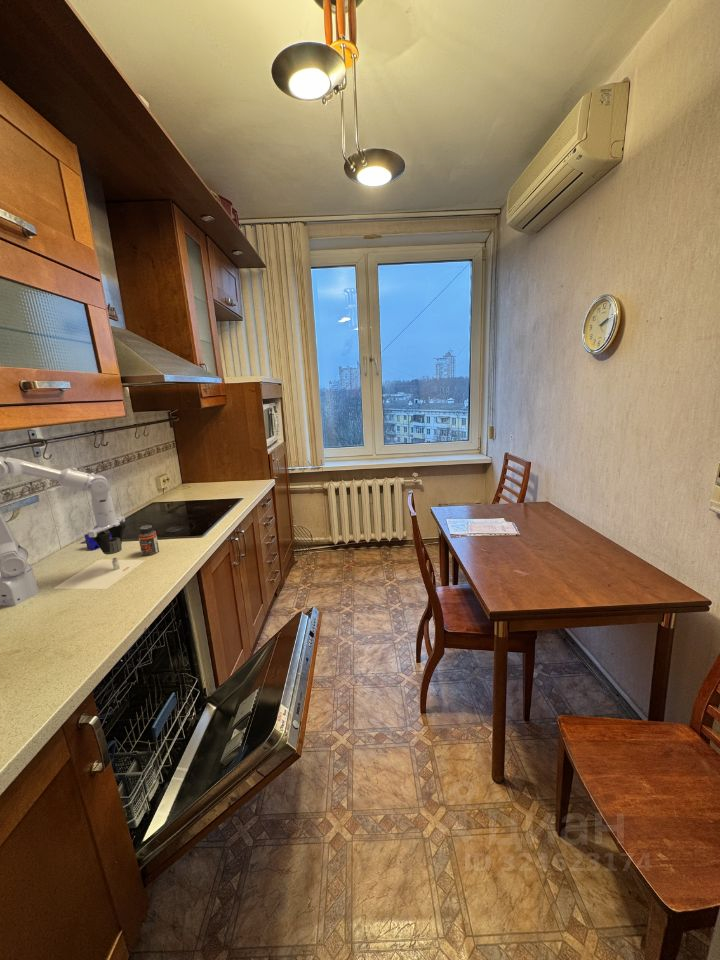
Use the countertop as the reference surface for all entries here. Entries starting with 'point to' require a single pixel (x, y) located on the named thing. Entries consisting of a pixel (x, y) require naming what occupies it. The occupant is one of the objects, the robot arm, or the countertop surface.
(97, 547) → the blue curved bracket
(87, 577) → the socket plate
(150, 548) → the supplement bottle
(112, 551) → the grey grooved ring
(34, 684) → the countertop surface
